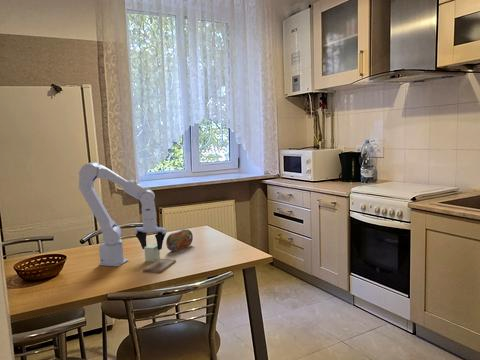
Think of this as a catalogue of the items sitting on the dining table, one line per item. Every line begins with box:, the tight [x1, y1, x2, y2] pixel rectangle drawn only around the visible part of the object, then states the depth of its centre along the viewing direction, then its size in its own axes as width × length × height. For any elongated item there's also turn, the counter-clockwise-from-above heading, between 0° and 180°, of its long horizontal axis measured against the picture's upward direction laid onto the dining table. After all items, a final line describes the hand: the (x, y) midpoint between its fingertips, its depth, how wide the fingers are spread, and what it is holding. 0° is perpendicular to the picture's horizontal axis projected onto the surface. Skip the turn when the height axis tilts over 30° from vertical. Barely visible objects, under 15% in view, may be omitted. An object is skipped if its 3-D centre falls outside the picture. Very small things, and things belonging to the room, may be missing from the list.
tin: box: [165, 229, 194, 252], centre depth 180 cm, size 15×3×8 cm, turn 143°
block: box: [143, 243, 161, 263], centre depth 166 cm, size 5×5×6 cm
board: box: [142, 257, 177, 274], centre depth 158 cm, size 8×13×2 cm, turn 162°
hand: (152, 248), depth 166 cm, fingers open, 7 cm apart
